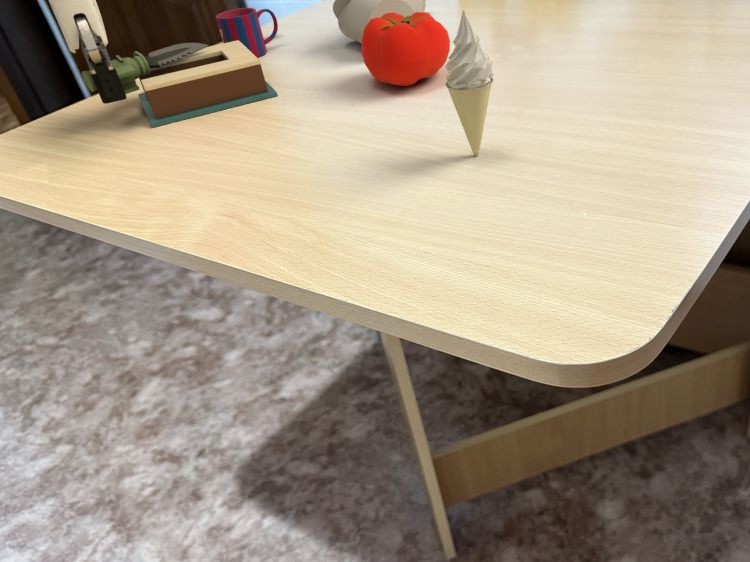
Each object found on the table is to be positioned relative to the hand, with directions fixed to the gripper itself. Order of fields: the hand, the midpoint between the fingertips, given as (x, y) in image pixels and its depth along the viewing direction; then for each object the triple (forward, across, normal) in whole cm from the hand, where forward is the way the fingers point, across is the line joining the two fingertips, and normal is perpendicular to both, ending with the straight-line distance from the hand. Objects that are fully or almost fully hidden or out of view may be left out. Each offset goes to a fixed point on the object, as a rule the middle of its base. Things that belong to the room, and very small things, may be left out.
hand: (113, 93), depth 97 cm
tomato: (+4, +15, +39) cm, 42 cm away
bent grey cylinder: (+4, -8, +45) cm, 46 cm away
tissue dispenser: (+4, -1, +12) cm, 13 cm away
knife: (-1, -3, +6) cm, 7 cm away
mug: (+4, -19, +24) cm, 31 cm away
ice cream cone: (+4, +45, +35) cm, 57 cm away
